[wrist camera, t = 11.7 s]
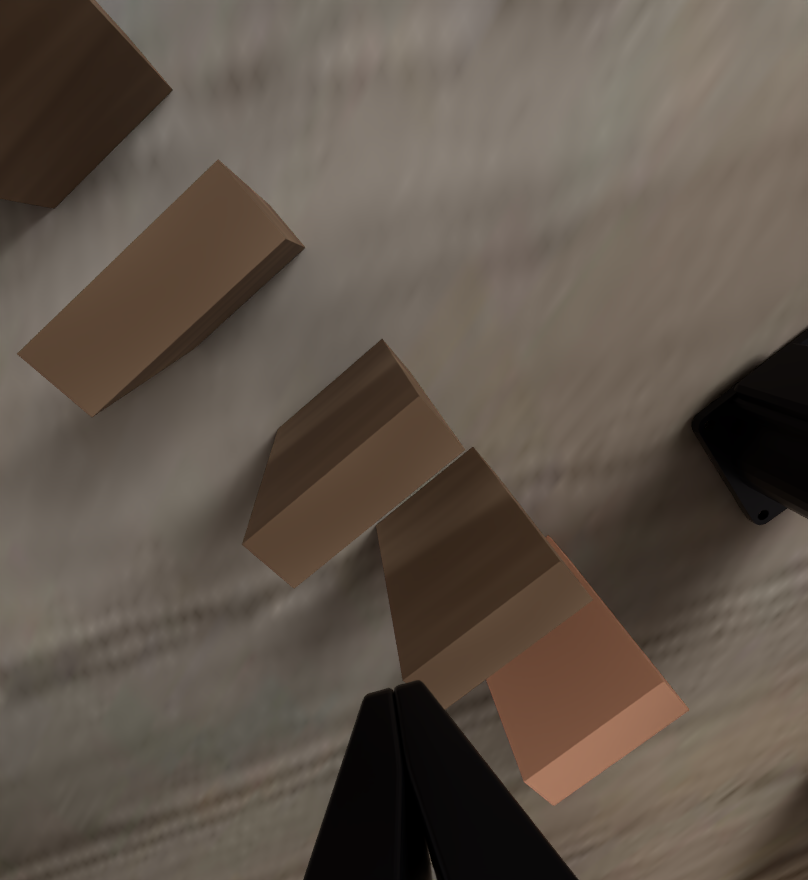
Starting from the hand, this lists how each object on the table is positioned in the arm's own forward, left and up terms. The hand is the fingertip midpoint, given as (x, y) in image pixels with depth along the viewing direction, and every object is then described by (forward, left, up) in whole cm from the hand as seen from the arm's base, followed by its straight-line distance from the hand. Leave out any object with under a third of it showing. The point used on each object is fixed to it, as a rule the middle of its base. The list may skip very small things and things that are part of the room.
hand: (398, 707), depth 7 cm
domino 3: (+1, -1, -12) cm, 12 cm away
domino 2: (+7, -1, -12) cm, 14 cm away
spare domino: (-10, -1, -12) cm, 16 cm away
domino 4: (-4, -1, -12) cm, 13 cm away
